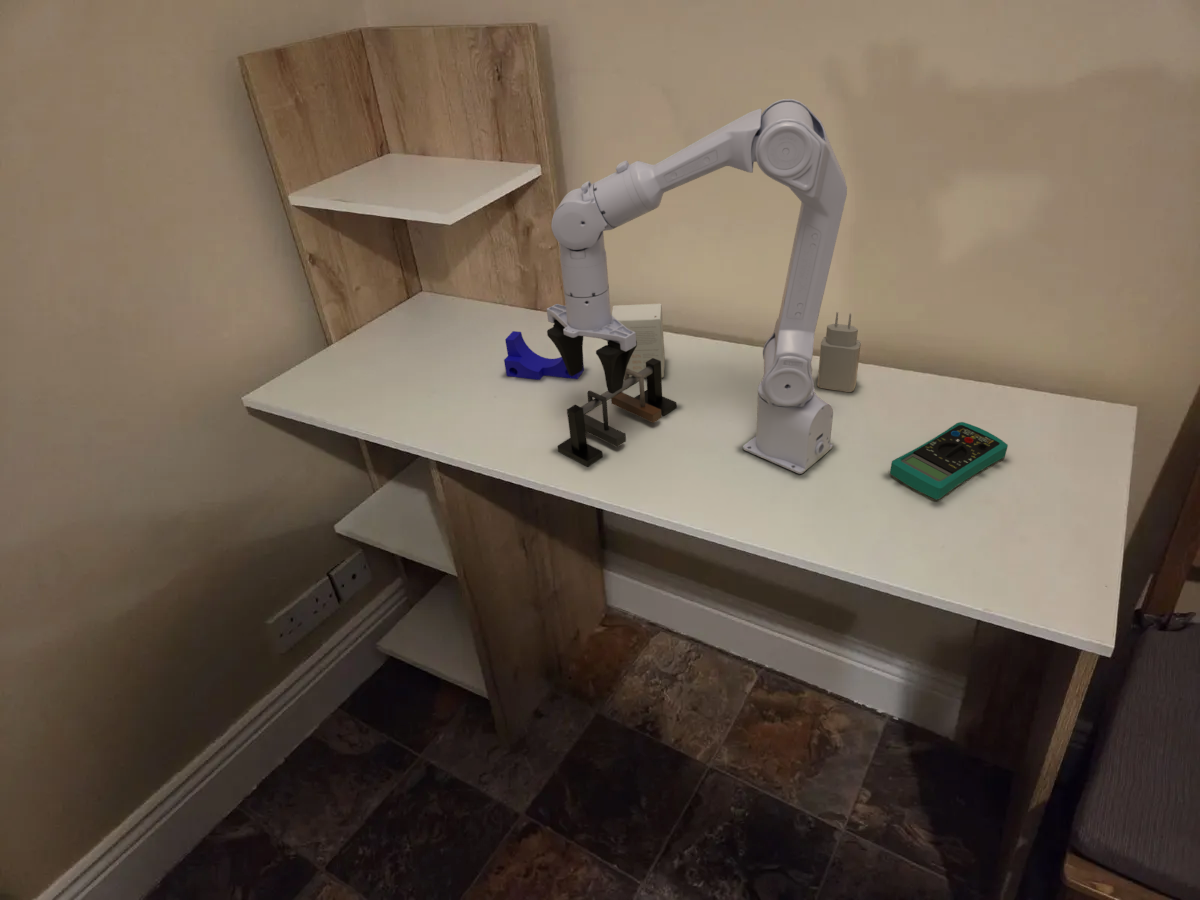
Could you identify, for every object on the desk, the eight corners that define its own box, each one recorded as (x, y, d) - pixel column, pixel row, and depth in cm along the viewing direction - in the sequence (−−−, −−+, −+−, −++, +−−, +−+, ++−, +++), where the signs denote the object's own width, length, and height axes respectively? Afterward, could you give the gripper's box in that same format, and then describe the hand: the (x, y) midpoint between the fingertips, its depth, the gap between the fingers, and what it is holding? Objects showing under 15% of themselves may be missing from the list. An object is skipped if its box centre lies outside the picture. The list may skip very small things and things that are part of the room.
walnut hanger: (661, 417, 117) (660, 378, 113) (653, 423, 116) (651, 383, 112) (619, 398, 122) (616, 360, 118) (611, 404, 121) (608, 365, 117)
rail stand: (677, 407, 121) (675, 363, 117) (587, 467, 111) (582, 421, 106) (647, 395, 125) (644, 351, 120) (557, 451, 114) (551, 406, 110)
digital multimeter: (1008, 457, 105) (1013, 438, 103) (935, 504, 98) (939, 485, 97) (958, 433, 110) (962, 415, 108) (886, 477, 104) (889, 458, 102)
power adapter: (852, 392, 120) (861, 319, 113) (816, 387, 122) (822, 315, 115) (856, 382, 122) (865, 310, 115) (820, 377, 124) (827, 305, 118)
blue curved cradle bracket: (506, 376, 133) (501, 343, 130) (517, 363, 136) (512, 331, 133) (574, 383, 129) (570, 350, 126) (584, 370, 133) (580, 337, 129)
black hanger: (626, 441, 113) (623, 401, 109) (617, 447, 112) (614, 407, 108) (584, 421, 118) (579, 381, 114) (575, 426, 117) (570, 387, 113)
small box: (665, 361, 133) (662, 302, 127) (664, 378, 128) (661, 318, 122) (616, 362, 134) (612, 304, 128) (614, 379, 129) (609, 320, 123)
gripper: (525, 286, 104) (538, 376, 112) (605, 314, 95) (613, 411, 103) (564, 267, 108) (574, 356, 116) (645, 293, 99) (650, 388, 107)
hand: (595, 381), depth 110 cm, fingers open, 7 cm apart
